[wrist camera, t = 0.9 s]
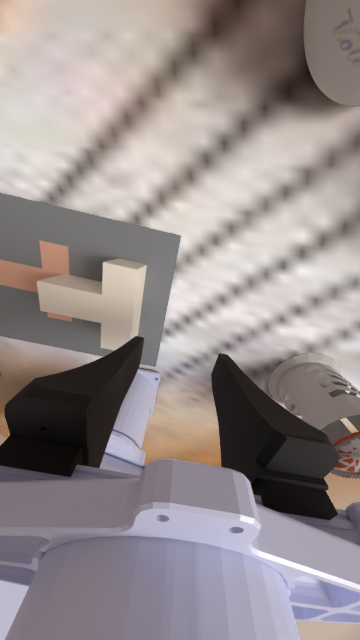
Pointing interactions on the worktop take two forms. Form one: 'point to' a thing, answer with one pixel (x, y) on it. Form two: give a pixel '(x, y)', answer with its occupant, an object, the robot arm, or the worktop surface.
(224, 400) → the robot arm
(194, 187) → the worktop surface
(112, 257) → the slate mat
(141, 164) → the worktop surface
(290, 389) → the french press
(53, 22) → the worktop surface
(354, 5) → the teacup
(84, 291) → the t block
